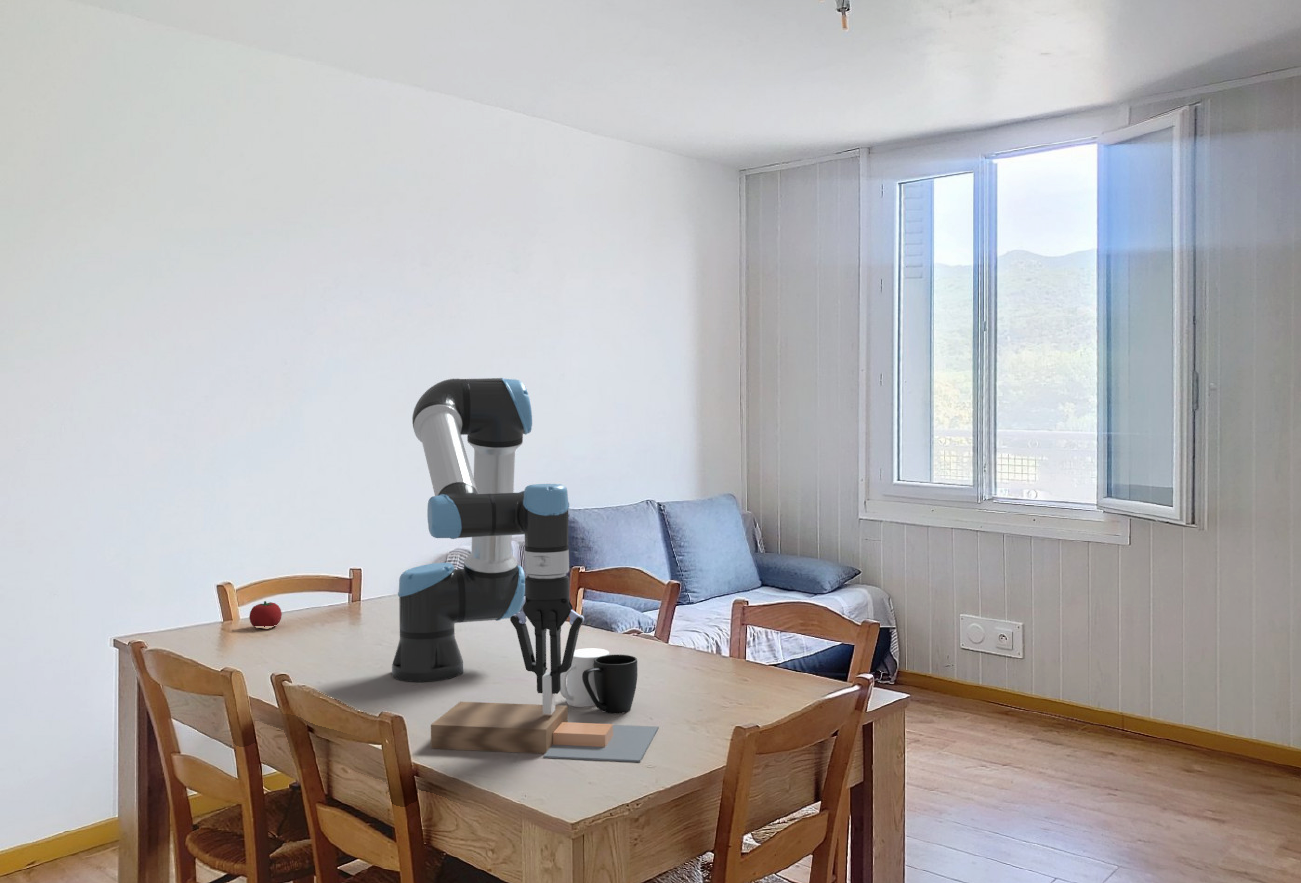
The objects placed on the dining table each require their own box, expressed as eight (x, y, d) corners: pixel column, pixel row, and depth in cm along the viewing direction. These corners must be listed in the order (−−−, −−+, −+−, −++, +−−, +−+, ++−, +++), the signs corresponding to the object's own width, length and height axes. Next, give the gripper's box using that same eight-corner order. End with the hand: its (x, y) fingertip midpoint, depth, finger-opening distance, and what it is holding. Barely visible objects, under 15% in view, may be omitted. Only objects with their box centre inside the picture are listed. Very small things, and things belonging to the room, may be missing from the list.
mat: (543, 757, 168) (543, 755, 168) (570, 724, 186) (570, 723, 186) (640, 762, 166) (640, 760, 166) (658, 728, 183) (658, 726, 183)
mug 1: (593, 645, 208) (620, 651, 202) (594, 691, 208) (621, 699, 202) (547, 656, 199) (574, 662, 194) (547, 704, 200) (574, 712, 194)
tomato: (275, 631, 271) (274, 603, 271) (245, 631, 272) (244, 604, 271) (286, 624, 279) (286, 598, 279) (257, 625, 280) (256, 598, 279)
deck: (431, 748, 174) (430, 724, 174) (460, 723, 188) (460, 701, 187) (546, 753, 170) (546, 729, 170) (567, 728, 184) (567, 705, 184)
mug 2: (569, 713, 193) (569, 663, 193) (618, 700, 201) (617, 652, 201) (598, 723, 187) (597, 670, 187) (646, 709, 195) (646, 659, 195)
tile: (553, 744, 174) (552, 732, 174) (562, 733, 180) (562, 722, 180) (605, 746, 172) (605, 735, 172) (613, 735, 178) (612, 724, 178)
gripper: (503, 577, 174) (505, 717, 175) (579, 579, 172) (581, 719, 173) (516, 570, 182) (518, 704, 182) (589, 572, 179) (591, 707, 180)
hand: (549, 711), depth 178 cm, fingers closed
